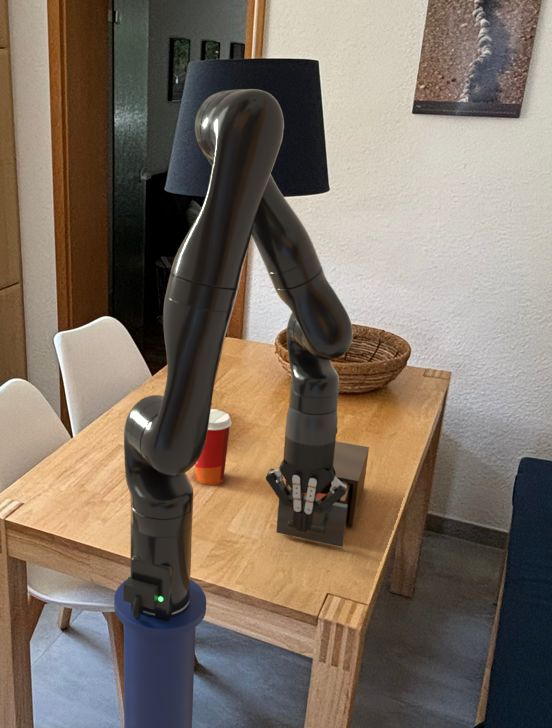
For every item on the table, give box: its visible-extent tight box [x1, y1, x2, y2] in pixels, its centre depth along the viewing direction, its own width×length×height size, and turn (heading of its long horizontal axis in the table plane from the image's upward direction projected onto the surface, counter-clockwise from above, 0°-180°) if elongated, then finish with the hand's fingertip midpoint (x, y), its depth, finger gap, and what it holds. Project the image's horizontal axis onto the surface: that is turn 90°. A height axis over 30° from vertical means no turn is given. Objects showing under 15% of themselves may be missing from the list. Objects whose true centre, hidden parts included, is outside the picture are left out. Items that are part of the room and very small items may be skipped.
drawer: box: [275, 483, 353, 548], centre depth 137 cm, size 18×11×8 cm, turn 156°
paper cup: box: [194, 408, 233, 486], centre depth 154 cm, size 8×8×14 cm
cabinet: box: [285, 441, 370, 528], centre depth 146 cm, size 15×13×10 cm
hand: (302, 529), depth 124 cm, fingers closed
